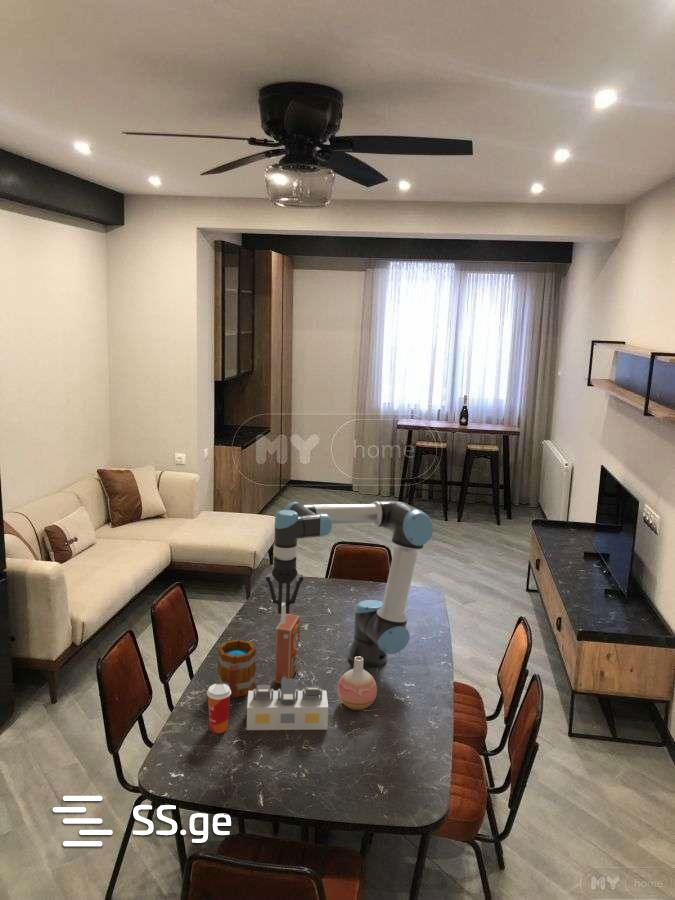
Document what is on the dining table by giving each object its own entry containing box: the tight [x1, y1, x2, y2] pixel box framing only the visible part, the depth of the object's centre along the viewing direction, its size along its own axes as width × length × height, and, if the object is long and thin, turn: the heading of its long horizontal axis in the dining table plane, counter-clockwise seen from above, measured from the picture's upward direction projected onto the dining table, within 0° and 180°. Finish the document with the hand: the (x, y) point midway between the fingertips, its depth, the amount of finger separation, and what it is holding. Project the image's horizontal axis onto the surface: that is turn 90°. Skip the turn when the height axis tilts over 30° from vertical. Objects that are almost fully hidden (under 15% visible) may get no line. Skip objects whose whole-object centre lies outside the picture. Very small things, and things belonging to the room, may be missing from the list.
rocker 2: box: [280, 678, 296, 704], centre depth 230 cm, size 5×9×2 cm, turn 5°
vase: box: [337, 656, 378, 711], centre depth 242 cm, size 14×14×18 cm
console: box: [246, 688, 329, 731], centre depth 231 cm, size 26×10×11 cm, turn 95°
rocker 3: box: [304, 686, 321, 695], centre depth 231 cm, size 5×9×2 cm, turn 5°
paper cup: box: [206, 683, 231, 734], centre depth 225 cm, size 8×8×14 cm
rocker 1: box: [255, 684, 271, 697], centre depth 230 cm, size 5×9×2 cm, turn 5°
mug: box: [217, 638, 257, 698], centre depth 247 cm, size 20×14×15 cm
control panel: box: [274, 613, 301, 684], centre depth 259 cm, size 21×7×15 cm
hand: (283, 622), depth 240 cm, fingers closed
